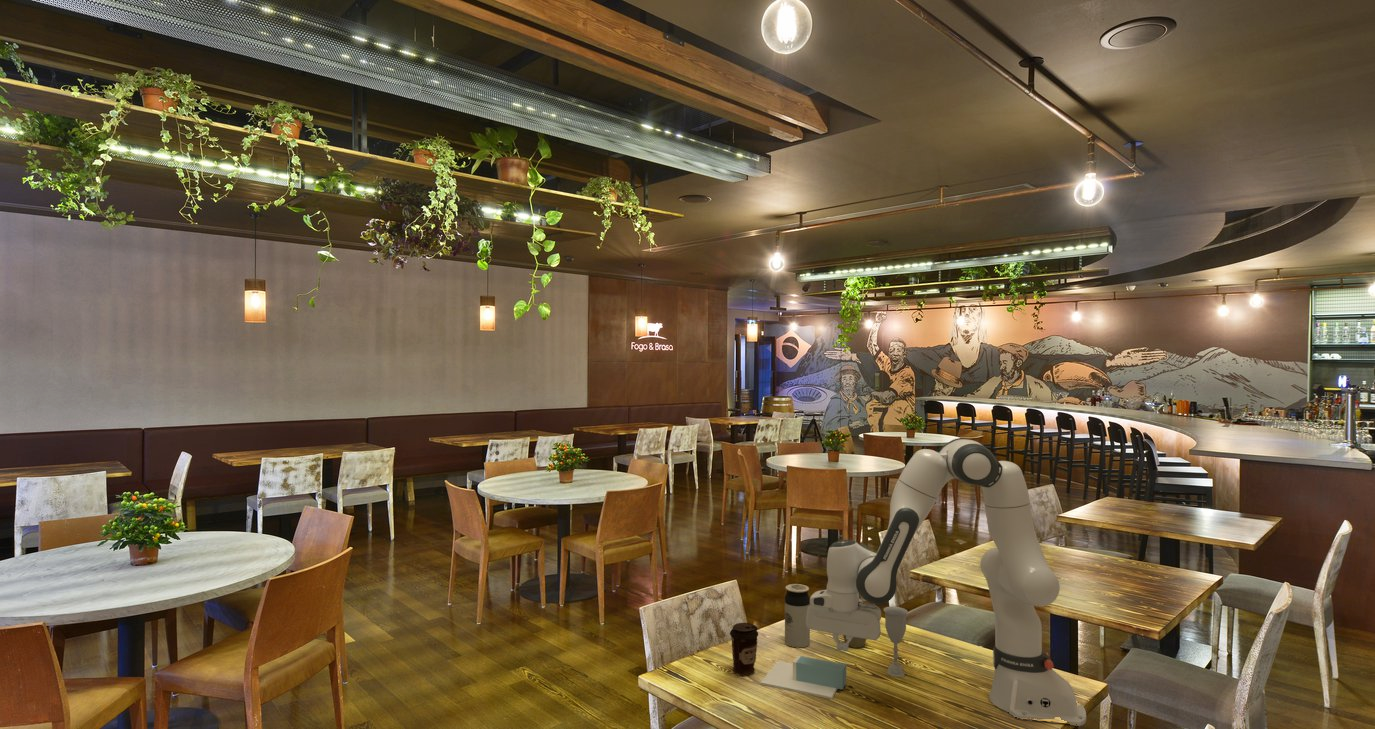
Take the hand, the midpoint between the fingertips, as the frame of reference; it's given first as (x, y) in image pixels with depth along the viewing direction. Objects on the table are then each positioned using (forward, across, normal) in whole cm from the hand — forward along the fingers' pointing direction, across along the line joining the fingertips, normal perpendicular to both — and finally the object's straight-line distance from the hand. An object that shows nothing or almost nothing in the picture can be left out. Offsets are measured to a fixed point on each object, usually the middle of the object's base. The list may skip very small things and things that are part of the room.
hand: (842, 649), depth 187 cm
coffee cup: (+11, +28, +2) cm, 30 cm away
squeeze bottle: (+11, +3, -32) cm, 34 cm away
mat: (+10, +11, 0) cm, 15 cm away
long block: (+7, -1, 0) cm, 7 cm away
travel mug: (+11, +20, -25) cm, 34 cm away
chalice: (+10, -12, -16) cm, 23 cm away
